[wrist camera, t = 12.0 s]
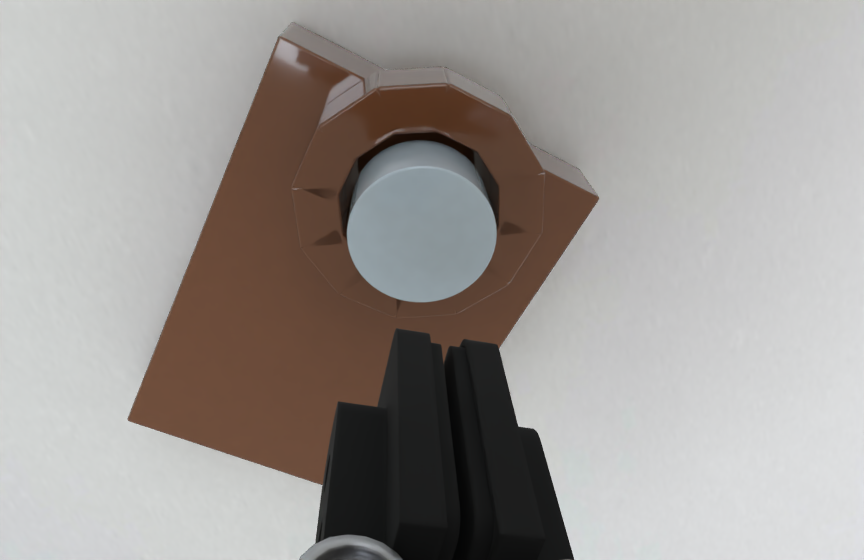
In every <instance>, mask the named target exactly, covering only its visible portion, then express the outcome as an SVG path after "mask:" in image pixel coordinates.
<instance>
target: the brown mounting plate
mask: <svg viewBox="0 0 864 560" xmlns="http://www.w3.org/2000/svg"><path fill="white" fill-rule="evenodd" d="M413 140H427V141H435V142H438V143H442V144H445V145H447V146H450V147H452V148H454V149H455V150H457V151H459V152H460V153H462V154H463V155H464V156H466V157H467V158H468V159H469V160H470V161H471V162H472V163H473V165H474V166H475V167H476V169H477V170H478V172H479V173H480V175H481V177H482V179H483V182H484V185H485V188H486V191H487V194H488V197H489V200H490V203H491V206H492V210H493V213H494V216H495V221H496V227H497V239H496V245H495V250H494V253H493V256H492V258H491V260H490V262H489V264H488V266H487V268H486V269H485V270H484V272H483V273H482V275H481V276H480V277H479V278H478V279H477V280H476V281H475V282H474V283H473V284H471V285H470V286H469V287H468V288H466V289H465V290H463V291H461V292H460V293H458V294H456V295H454V296H451V297H448V298H446V299H442V300H438V301H432V302H409V301H404V300H399V299H396V298H393V297H390V296H388V295H386V294H384V293H382V292H380V291H379V290H377V289H376V288H374V287H373V286H372V285H371V284H370V283H368V282H367V281H366V280H365V279H364V278H363V276H362V275H361V274H360V273H359V271H358V270H357V268H356V267H355V265H354V263H353V261H352V259H351V256H350V253H349V250H348V244H347V225H348V218H349V212H350V205H351V198H352V193H353V189H354V185H355V183H356V180H357V178H358V176H359V174H360V172H361V171H362V169H363V168H364V167H365V165H366V164H367V163H368V162H369V161H370V160H371V159H372V158H373V157H374V156H376V155H377V154H378V153H380V152H381V151H383V150H385V149H386V148H388V147H390V146H393V145H395V144H398V143H402V142H406V141H413ZM598 200H599V197H598V195H597V194H596V192H595V191H594V189H593V188H592V187H591V185H590V184H589V182H588V181H587V179H586V178H585V176H584V175H583V174H582V172H581V171H580V169H578V168H576V167H574V166H572V165H570V164H568V163H566V162H564V161H562V160H560V159H559V158H557V157H555V156H553V155H551V154H549V153H547V152H545V151H543V150H541V149H539V148H537V147H535V146H533V145H531V144H529V143H528V141H527V139H526V137H525V136H524V134H523V132H522V131H521V129H520V127H519V125H518V124H517V122H516V120H515V119H514V117H513V115H512V114H511V112H510V110H509V108H508V107H507V105H506V103H505V102H504V100H503V98H501V97H500V95H498V94H496V93H494V92H492V91H490V90H488V89H487V88H485V87H483V86H481V85H479V84H477V83H475V82H473V81H471V80H469V79H468V78H466V77H464V76H462V75H460V74H458V73H456V72H454V71H452V70H451V69H449V68H447V67H444V68H443V67H427V68H409V69H390V70H385V69H383V68H382V67H380V66H378V65H376V64H374V63H372V62H370V61H368V60H366V59H364V58H362V57H360V56H358V55H356V54H354V53H352V52H350V51H348V50H347V49H345V48H343V47H341V46H339V45H337V44H335V43H333V42H331V41H329V40H327V39H325V38H323V37H321V36H319V35H317V34H315V33H313V32H311V31H310V30H308V29H306V28H304V27H302V26H300V25H298V24H296V23H294V22H292V23H291V24H290V25H289V26H288V27H287V28H286V29H285V30H284V31H283V32H282V34H281V35H280V36H279V37H278V39H277V41H276V44H275V46H274V49H273V51H272V54H271V56H270V59H269V62H268V64H267V67H266V69H265V72H264V74H263V77H262V79H261V82H260V84H259V87H258V89H257V92H256V94H255V97H254V100H253V102H252V105H251V107H250V110H249V112H248V115H247V117H246V120H245V122H244V125H243V127H242V130H241V132H240V135H239V137H238V140H237V143H236V145H235V148H234V150H233V153H232V155H231V158H230V160H229V163H228V165H227V168H226V170H225V173H224V175H223V178H222V181H221V183H220V186H219V188H218V191H217V193H216V196H215V198H214V201H213V203H212V206H211V208H210V211H209V213H208V216H207V219H206V221H205V224H204V226H203V229H202V231H201V234H200V236H199V239H198V241H197V244H196V246H195V249H194V251H193V254H192V256H191V259H190V262H189V264H188V267H187V269H186V272H185V274H184V277H183V279H182V282H181V284H180V287H179V289H178V292H177V294H176V297H175V300H174V302H173V305H172V307H171V310H170V312H169V315H168V317H167V320H166V322H165V325H164V327H163V330H162V332H161V335H160V338H159V340H158V343H157V345H156V348H155V350H154V353H153V355H152V358H151V360H150V363H149V365H148V368H147V370H146V373H145V375H144V378H143V381H142V383H141V386H140V388H139V391H138V393H137V396H136V398H135V401H134V403H133V406H132V408H131V411H130V413H129V416H128V421H130V422H133V423H136V424H139V425H142V426H145V427H148V428H151V429H154V430H157V431H160V432H163V433H166V434H169V435H172V436H175V437H178V438H181V439H184V440H188V441H191V442H194V443H197V444H200V445H203V446H206V447H209V448H212V449H215V450H218V451H221V452H224V453H227V454H230V455H233V456H236V457H239V458H242V459H245V460H248V461H251V462H254V463H257V464H260V465H263V466H266V467H269V468H272V469H275V470H278V471H281V472H284V473H287V474H290V475H293V476H296V477H299V478H302V479H305V480H308V481H311V482H314V483H317V484H321V485H323V479H324V472H325V466H326V460H327V454H328V448H329V442H330V437H331V432H332V427H333V421H334V416H335V411H336V407H337V403H338V401H339V402H346V403H353V404H360V405H367V406H375V407H377V405H378V401H379V397H380V392H381V388H382V384H383V379H384V375H385V370H386V366H387V362H388V357H389V353H390V349H391V344H392V340H393V336H394V333H395V330H396V328H399V329H405V330H411V331H418V332H424V333H429V334H430V338H431V343H437V344H441V347H442V355H443V363H444V361H445V357H446V354H447V350H448V348H449V346H456V347H460V344H461V342H462V340H464V339H468V340H474V341H480V342H487V343H493V344H497V345H498V348H500V346H501V345H502V343H503V342H504V340H505V339H506V337H507V336H508V334H509V333H510V331H511V330H512V328H513V327H514V325H515V324H516V322H517V321H518V319H519V318H520V316H521V315H522V313H523V312H524V310H525V309H526V307H527V306H528V304H529V303H530V301H531V300H532V298H533V297H534V295H535V294H536V292H537V291H538V290H539V288H540V287H541V285H542V284H543V282H544V281H545V279H546V278H547V276H548V275H549V273H550V272H551V270H552V269H553V267H554V266H555V264H556V263H557V261H558V260H559V258H560V257H561V255H562V254H563V252H564V251H565V249H566V248H567V246H568V245H569V243H570V242H571V240H572V239H573V237H574V236H575V234H576V233H577V231H578V230H579V228H580V227H581V225H582V224H583V222H584V221H585V219H586V218H587V216H588V215H589V213H590V212H591V211H592V209H593V208H594V206H595V205H596V203H597V202H598Z"/></svg>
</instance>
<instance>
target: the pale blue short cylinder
mask: <svg viewBox="0 0 864 560" xmlns="http://www.w3.org/2000/svg"><path fill="white" fill-rule="evenodd" d="M496 239H497V227H496V221H495V216H494V213H493V210H492V206H491V203H490V200H489V197H488V194H487V191H486V188H485V185H484V182H483V179H482V177H481V175H480V173H479V172H478V170H477V169H476V167H475V166H474V165H473V163H472V162H471V161H470V160H469V159H468V158H467V157H466V156H464V155H463V154H462V153H460V152H459V151H457V150H455V149H454V148H452V147H450V146H447V145H445V144H442V143H438V142H435V141H427V140H413V141H406V142H402V143H398V144H395V145H393V146H390V147H388V148H386V149H385V150H383V151H381V152H380V153H378V154H377V155H376V156H374V157H373V158H372V159H371V160H370V161H369V162H368V163H367V164H366V165H365V167H364V168H363V169H362V171H361V172H360V174H359V176H358V178H357V180H356V183H355V185H354V189H353V193H352V198H351V205H350V212H349V218H348V225H347V244H348V250H349V253H350V256H351V259H352V261H353V263H354V265H355V267H356V268H357V270H358V271H359V273H360V274H361V275H362V276H363V278H364V279H365V280H366V281H367V282H368V283H370V284H371V285H372V286H373V287H374V288H376V289H377V290H379V291H380V292H382V293H384V294H386V295H388V296H390V297H393V298H396V299H399V300H404V301H409V302H432V301H438V300H442V299H446V298H448V297H451V296H454V295H456V294H458V293H460V292H461V291H463V290H465V289H466V288H468V287H469V286H470V285H471V284H473V283H474V282H475V281H476V280H477V279H478V278H479V277H480V276H481V275H482V273H483V272H484V270H485V269H486V268H487V266H488V264H489V262H490V260H491V258H492V256H493V253H494V250H495V245H496Z"/></svg>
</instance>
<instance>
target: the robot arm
mask: <svg viewBox="0 0 864 560" xmlns="http://www.w3.org/2000/svg"><path fill="white" fill-rule="evenodd" d="M299 560H574V557H573V554H572V550H571V547H570V543H569V540H568V536H567V533H566V529H565V525H564V522H563V518H562V515H561V511H560V508H559V504H558V501H557V497H556V494H555V490H554V487H553V483H552V480H551V476H550V472H549V469H548V465H547V462H546V458H545V455H544V451H543V448H542V444H541V441H540V438H539V435H538V433H537V432H536V431H535V430H534V429H530V428H523V427H518V425H517V421H516V416H515V412H514V408H513V404H512V400H511V396H510V392H509V388H508V384H507V380H506V376H505V372H504V368H503V364H502V360H501V356H500V352H499V348H498V345H497V344H493V343H487V342H480V341H474V340H468V339H464V340H462V342H461V344H460V347H456V346H449V348H448V350H447V354H446V357H445V361H444V363H443V355H442V347H441V344H437V343H431V338H430V334H429V333H424V332H418V331H411V330H405V329H399V328H396V330H395V333H394V336H393V340H392V344H391V349H390V353H389V357H388V362H387V366H386V370H385V375H384V379H383V384H382V388H381V392H380V397H379V401H378V405H377V407H375V406H367V405H360V404H353V403H346V402H339V401H338V403H337V407H336V411H335V416H334V421H333V427H332V432H331V437H330V442H329V448H328V454H327V460H326V466H325V472H324V479H323V486H322V494H321V502H320V510H319V518H318V526H317V534H316V543H315V544H314V545H313V546H312V547H310V548H309V549H308V550H307V551H306V552H305V553H304V554H303V555H302V556H301V557H300V559H299Z"/></svg>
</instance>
